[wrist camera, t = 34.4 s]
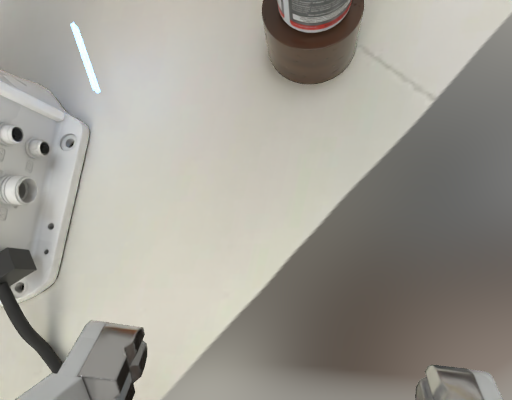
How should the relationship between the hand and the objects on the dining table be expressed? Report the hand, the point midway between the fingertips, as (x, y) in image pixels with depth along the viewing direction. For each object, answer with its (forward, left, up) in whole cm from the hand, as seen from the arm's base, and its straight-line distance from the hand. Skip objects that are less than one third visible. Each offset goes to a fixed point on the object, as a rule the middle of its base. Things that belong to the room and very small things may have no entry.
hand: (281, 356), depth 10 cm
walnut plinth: (+23, -4, -19) cm, 30 cm away
